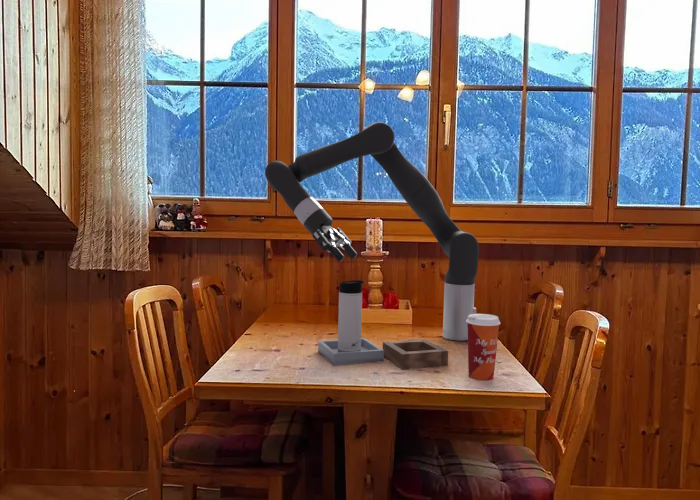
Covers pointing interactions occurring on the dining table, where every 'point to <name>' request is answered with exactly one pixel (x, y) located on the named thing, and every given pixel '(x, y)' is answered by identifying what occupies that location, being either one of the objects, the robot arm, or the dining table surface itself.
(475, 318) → the coffee cup
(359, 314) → the travel mug
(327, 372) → the dining table surface
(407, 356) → the socket collar
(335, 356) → the parts tray
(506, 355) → the dining table surface
